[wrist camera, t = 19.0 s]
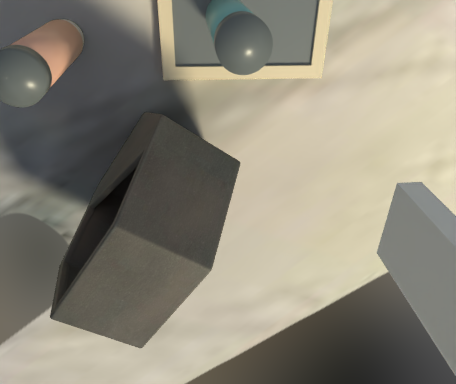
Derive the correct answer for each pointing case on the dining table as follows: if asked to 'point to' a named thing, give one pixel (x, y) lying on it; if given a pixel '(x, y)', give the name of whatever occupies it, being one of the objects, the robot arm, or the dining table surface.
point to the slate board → (270, 14)
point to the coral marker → (38, 61)
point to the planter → (146, 233)
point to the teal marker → (238, 36)
